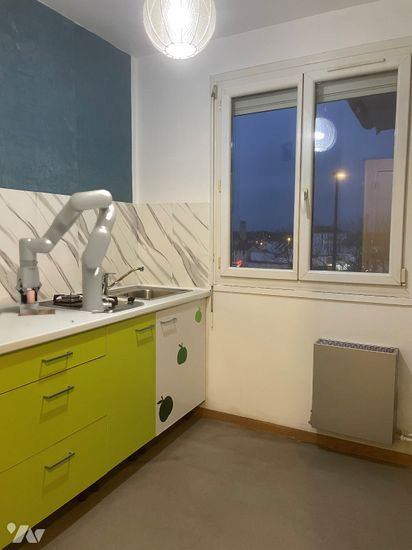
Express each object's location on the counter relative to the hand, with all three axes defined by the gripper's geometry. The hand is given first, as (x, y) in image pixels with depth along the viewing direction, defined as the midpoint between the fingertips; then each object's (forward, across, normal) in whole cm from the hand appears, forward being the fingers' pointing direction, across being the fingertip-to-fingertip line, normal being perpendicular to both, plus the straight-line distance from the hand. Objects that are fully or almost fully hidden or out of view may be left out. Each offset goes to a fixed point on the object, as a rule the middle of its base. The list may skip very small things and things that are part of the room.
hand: (29, 301), depth 196 cm
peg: (+5, 0, 0) cm, 5 cm away
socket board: (+6, 0, +5) cm, 8 cm away
